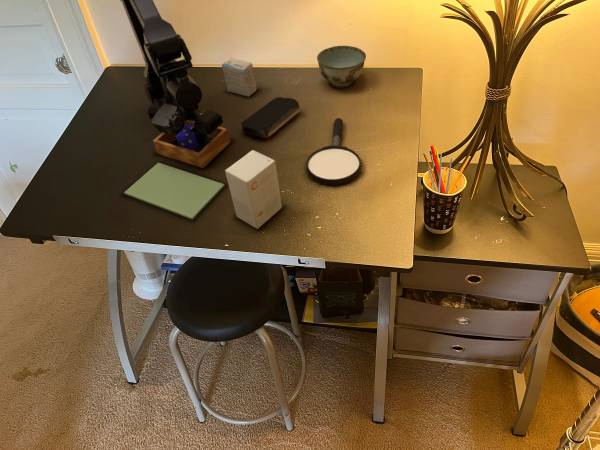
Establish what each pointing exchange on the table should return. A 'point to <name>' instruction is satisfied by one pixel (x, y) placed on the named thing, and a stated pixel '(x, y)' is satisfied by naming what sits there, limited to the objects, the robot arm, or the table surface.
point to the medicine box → (239, 77)
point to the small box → (254, 188)
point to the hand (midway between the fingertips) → (193, 144)
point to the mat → (175, 190)
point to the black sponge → (271, 117)
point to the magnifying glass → (334, 161)
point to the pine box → (188, 156)
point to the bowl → (341, 64)
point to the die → (188, 139)
